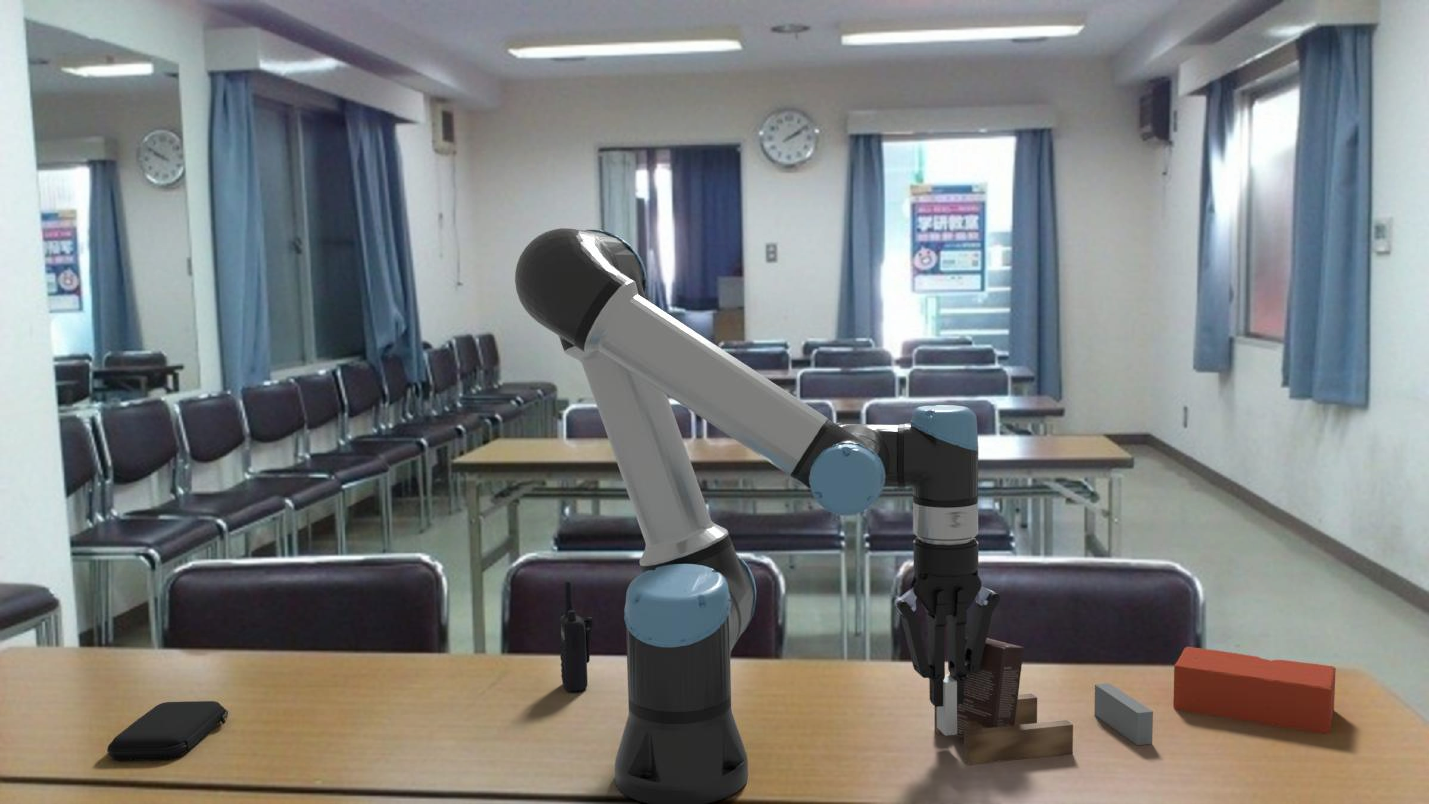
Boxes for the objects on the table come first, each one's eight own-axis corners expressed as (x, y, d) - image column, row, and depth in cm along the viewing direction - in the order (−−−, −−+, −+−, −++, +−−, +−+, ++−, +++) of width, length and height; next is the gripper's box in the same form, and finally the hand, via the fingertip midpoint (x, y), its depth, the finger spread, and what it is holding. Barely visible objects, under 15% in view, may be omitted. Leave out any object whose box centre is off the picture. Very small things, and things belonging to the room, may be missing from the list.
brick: (1172, 710, 152) (1173, 665, 152) (1184, 688, 160) (1185, 645, 159) (1329, 736, 143) (1331, 688, 142) (1334, 711, 151) (1335, 666, 150)
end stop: (1137, 745, 141) (1137, 713, 140) (1094, 714, 150) (1094, 684, 150) (1152, 743, 141) (1152, 711, 141) (1108, 713, 151) (1109, 683, 150)
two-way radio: (559, 682, 167) (555, 578, 165) (590, 678, 168) (587, 575, 166) (566, 695, 161) (562, 588, 160) (598, 691, 163) (595, 585, 161)
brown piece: (969, 764, 136) (969, 726, 136) (934, 729, 147) (934, 694, 146) (1072, 753, 139) (1073, 716, 138) (1031, 720, 149) (1031, 685, 149)
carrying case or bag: (189, 764, 142) (239, 718, 156) (187, 740, 141) (238, 696, 156) (101, 766, 142) (160, 720, 156) (99, 742, 141) (158, 697, 156)
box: (1014, 746, 141) (1026, 646, 141) (991, 749, 139) (1003, 647, 139) (973, 731, 146) (985, 635, 146) (950, 734, 143) (962, 636, 143)
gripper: (904, 548, 134) (906, 748, 136) (1011, 540, 136) (1011, 737, 139) (882, 534, 141) (884, 724, 143) (984, 527, 143) (984, 714, 146)
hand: (946, 730), depth 141 cm, fingers closed
